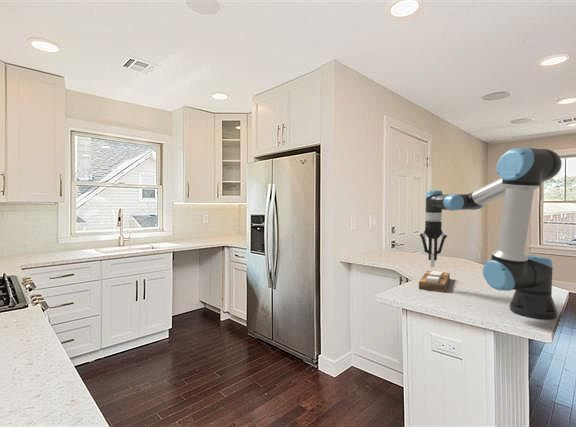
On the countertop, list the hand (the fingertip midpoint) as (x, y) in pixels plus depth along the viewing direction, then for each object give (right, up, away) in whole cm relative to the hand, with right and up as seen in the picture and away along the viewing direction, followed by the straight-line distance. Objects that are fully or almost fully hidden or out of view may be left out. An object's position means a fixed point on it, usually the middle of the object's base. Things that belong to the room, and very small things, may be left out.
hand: (432, 266), depth 166 cm
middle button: (+5, -8, +9) cm, 13 cm away
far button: (+10, -9, +17) cm, 22 cm away
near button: (0, -8, 0) cm, 8 cm away
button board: (+5, -11, +9) cm, 15 cm away
